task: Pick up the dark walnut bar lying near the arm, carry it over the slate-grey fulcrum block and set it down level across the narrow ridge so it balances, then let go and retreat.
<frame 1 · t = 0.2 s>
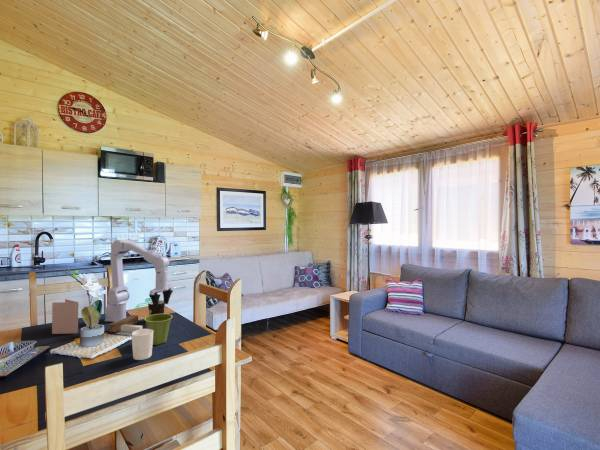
hand: (161, 305, 169), 10 cm above the table, fingers open, 7 cm apart
white cup: (142, 357, 130), on the table
plant pot: (158, 342, 145), on the table
fulcrum: (131, 332, 157), on the table
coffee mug: (156, 321, 174), on the table
greeting card: (64, 333, 154), on the table
walnut bar: (124, 327, 164), on the table
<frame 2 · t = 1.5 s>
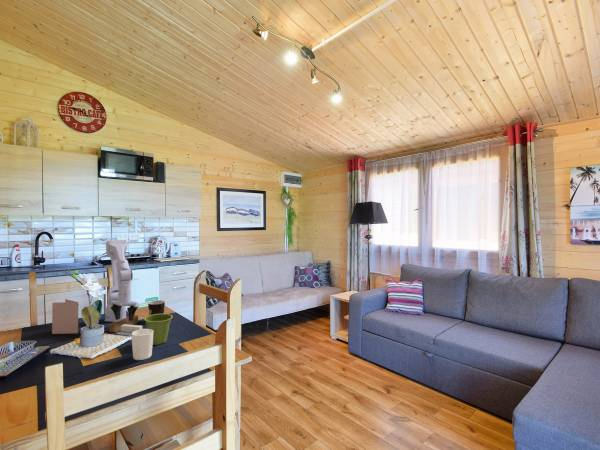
hand: (124, 319, 164), 4 cm above the table, fingers open, 7 cm apart
nothing on the table moved.
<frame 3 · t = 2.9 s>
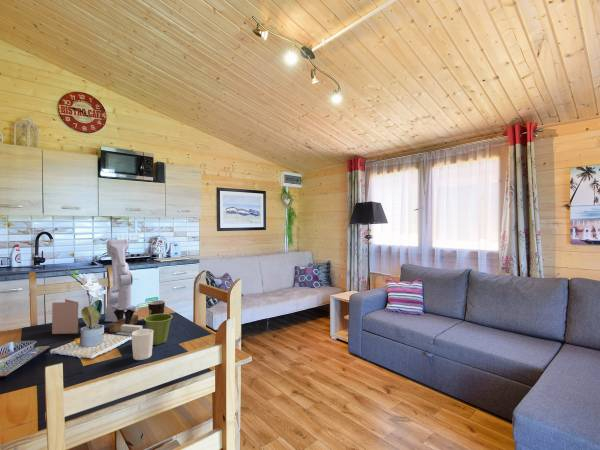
hand: (124, 324, 164), 1 cm above the table, fingers closed on walnut bar, 3 cm apart
walnut bar: (124, 327, 164), on the table, touching gripper
everything else where it was.
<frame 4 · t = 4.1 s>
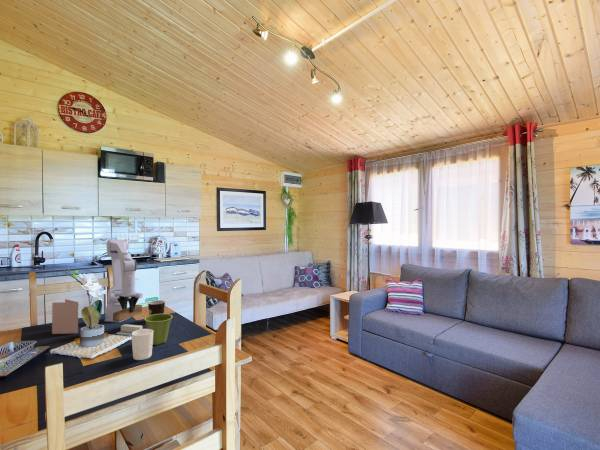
hand: (128, 311, 160), 9 cm above the table, fingers closed on walnut bar, 3 cm apart
walnut bar: (128, 316, 160), point 6 cm above the table, touching gripper
everything else where it was.
when the fingers open (6 cm above the table, at t = 5.7 s): walnut bar stays where it is, resting on fulcrum.
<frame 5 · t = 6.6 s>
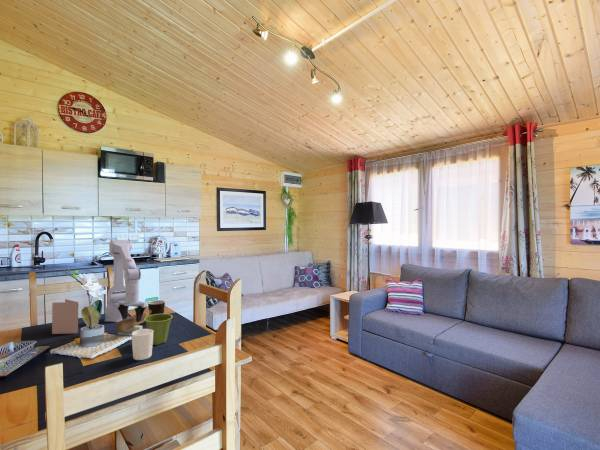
hand: (131, 320, 157), 6 cm above the table, fingers open, 7 cm apart
walnut bar: (131, 325, 157), point 3 cm above the table, touching fulcrum
everything else where it was.
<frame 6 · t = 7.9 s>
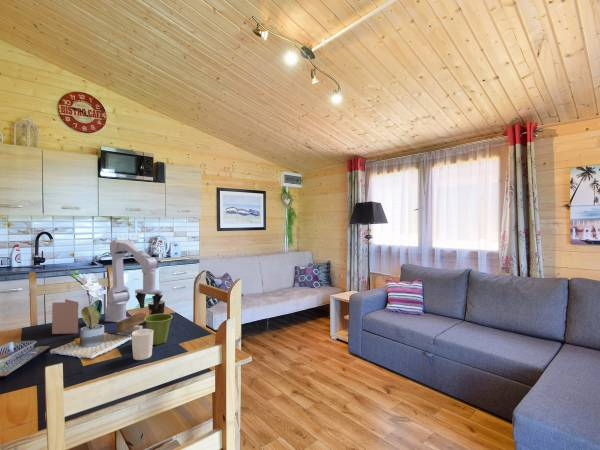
hand: (148, 308, 161), 10 cm above the table, fingers open, 7 cm apart
nothing on the table moved.
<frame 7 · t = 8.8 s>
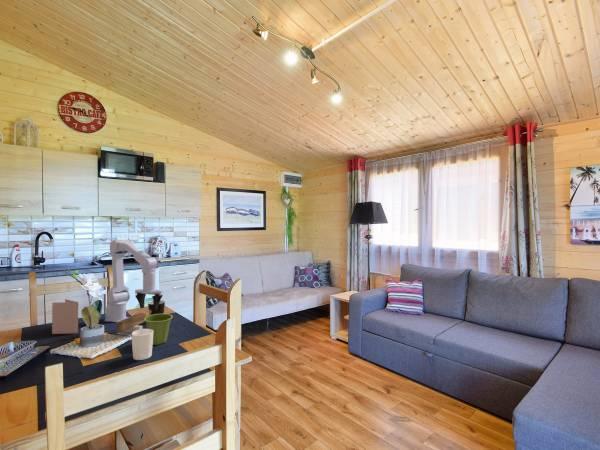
hand: (148, 308, 161), 10 cm above the table, fingers open, 7 cm apart
nothing on the table moved.
at the end: walnut bar 0.0 cm off-centre on the fulcrum, point 3.2 cm above the fulcrum's base; walnut bar tilted 0°; walnut bar touching fulcrum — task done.
